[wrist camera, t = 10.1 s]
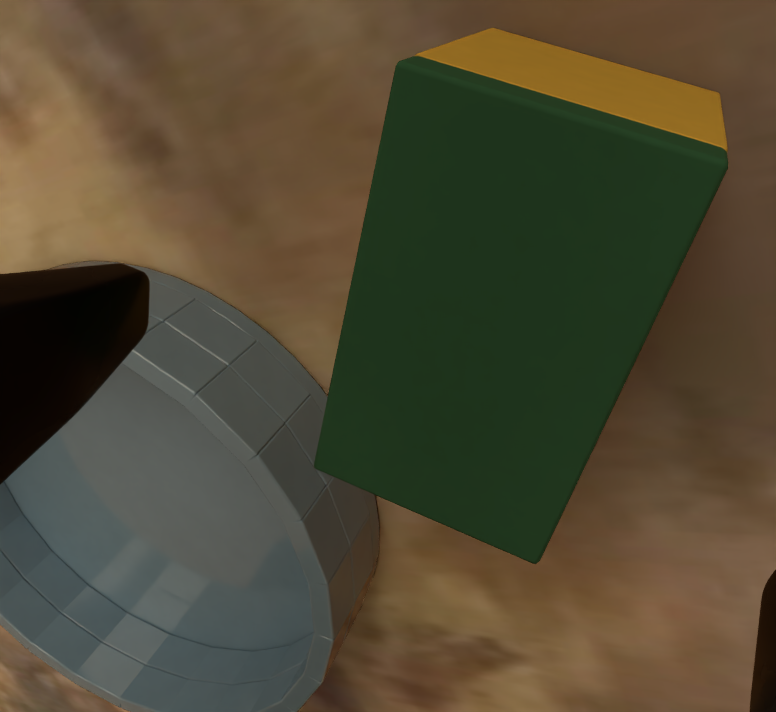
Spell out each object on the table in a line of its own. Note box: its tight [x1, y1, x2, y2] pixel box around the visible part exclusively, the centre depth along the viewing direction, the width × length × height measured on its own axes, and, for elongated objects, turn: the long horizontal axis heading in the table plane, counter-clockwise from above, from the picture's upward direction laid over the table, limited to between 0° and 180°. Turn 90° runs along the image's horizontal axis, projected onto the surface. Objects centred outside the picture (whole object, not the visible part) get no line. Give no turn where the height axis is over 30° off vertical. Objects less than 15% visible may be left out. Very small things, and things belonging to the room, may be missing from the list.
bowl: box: [0, 261, 379, 712], centre depth 23 cm, size 15×15×4 cm
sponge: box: [314, 28, 728, 564], centre depth 14 cm, size 8×4×6 cm, turn 167°
